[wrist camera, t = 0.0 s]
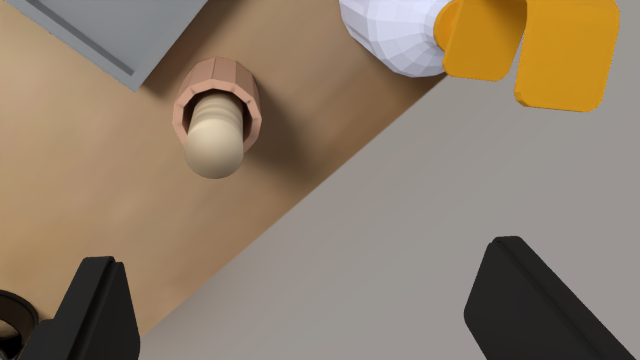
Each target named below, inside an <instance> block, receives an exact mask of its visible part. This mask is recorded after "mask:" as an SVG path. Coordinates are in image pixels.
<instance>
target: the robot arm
mask: <svg viewBox="0 0 640 360" xmlns="http://www.w3.org/2000/svg"><path fill="white" fill-rule="evenodd" d="M464 319H465V323H466V325H467V326H468V328H469V330H470V331H471V333H472V335H473V337H474V338H475V340H476V342H477V343H478V345H479V347H480V349H481V350H482V352H483V354H484V355H485V357H486V359H487V360H636V359H635V358H634V357H633V356H632V355H631V354H630V353H629V352H628V351H627V349H626V348H625V347H624V346H623V345H622V344H621V343H620V342H619V341H618V340H617V339H616V338H615V337H614V336H613V335H612V334H611V332H610V331H609V330H608V329H607V328H606V327H605V326H604V325H603V324H602V323H601V322H600V321H599V320H598V319H597V318H596V317H595V316H594V314H593V313H592V312H591V311H590V310H589V309H588V308H587V307H586V306H585V305H584V304H583V303H582V302H581V301H580V300H579V299H578V298H577V297H576V295H575V294H574V293H573V292H572V291H571V290H570V289H569V288H568V287H567V286H566V285H565V284H564V283H563V282H562V281H561V280H560V278H559V277H558V276H557V275H556V274H555V273H554V272H553V271H552V270H551V269H550V268H549V267H548V266H547V265H546V264H545V263H544V262H543V260H542V259H541V258H540V257H539V256H538V255H537V254H536V253H535V252H534V251H533V250H532V249H531V248H530V247H529V246H528V245H527V244H526V243H525V242H524V241H523V239H521V238H520V237H518V236H504V237H496V238H495V239H494V240H493V241H492V243H489V245H488V246H487V249H486V251H485V254H484V257H483V260H482V263H481V265H480V268H479V271H478V274H477V276H476V279H475V282H474V284H473V287H472V290H471V293H470V296H469V298H468V301H467V304H466V306H465V309H464ZM139 353H140V336H139V332H138V327H137V323H136V318H135V313H134V309H133V304H132V300H131V295H130V291H129V286H128V282H127V277H126V273H125V268H124V264H123V263H122V262H115V259H114V257H113V256H104V257H86V258H84V259H83V260H82V262H81V264H80V266H79V268H78V270H77V272H76V274H75V276H74V278H73V280H72V282H71V284H70V286H69V288H68V290H67V292H66V294H65V296H64V298H63V300H62V302H61V305H60V307H59V309H58V311H57V313H56V315H55V317H54V319H47V320H42V321H41V322H40V323H39V324H38V325H37V326H36V328H35V329H34V331H33V333H32V335H31V337H30V339H29V340H28V342H27V344H26V346H25V348H24V350H23V352H22V354H21V356H20V358H19V359H18V360H138V357H139Z"/></svg>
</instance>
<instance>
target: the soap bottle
mask: <svg viewBox="0 0 640 360" xmlns="http://www.w3.org/2000/svg"><path fill="white" fill-rule="evenodd" d="M339 3H340V9H341V15H342V20H343V22H344V24H345V26H346V28H347V29H348V31H349V33H350V35H351V36H352V37H354V38H355V39H356V40H357V41H358V42H359V43H361V44H362V45H363V46H364V47H365V48H366V49H368V50H369V51H370V52H371V53H372V54H373V55H375V56H376V57H377V58H378V59H379V60H380V61H382V62H383V63H384V64H385V65H386V66H388V67H389V68H390V69H391V70H392V71H393V72H396V73H399V74H402V75H406V76H409V77H425V76H434V75H438V74H440V73H442V72H446V73H447V74H448V75H450V76H451V77H461V78H470V79H479V80H488V81H498V80H500V79H502V78H503V77H504V76H505V75H506V74H507V73H508V72H509V70H510V67H511V64H512V62H513V59H514V56H515V54H516V51H517V48H518V46H519V43H520V41H521V38H522V35H523V33H524V30H525V33H524V39H523V44H522V50H521V55H520V61H519V67H518V72H517V78H516V84H515V89H514V94H515V97H516V101H518V102H519V103H520V104H522V105H523V106H526V107H535V108H536V107H537V108H546V109H556V110H566V111H576V112H589V111H591V110H593V109H595V108H597V107H598V105H599V104H600V102H601V101H602V98H603V94H604V90H605V86H606V82H607V78H608V73H609V69H610V65H611V61H612V56H613V52H614V48H615V44H616V40H617V35H618V31H619V9H618V7H617V5H616V3H615V1H614V0H339ZM525 27H526V28H525Z"/></svg>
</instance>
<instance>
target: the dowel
mask: <svg viewBox="0 0 640 360" xmlns="http://www.w3.org/2000/svg"><path fill="white" fill-rule="evenodd" d="M184 158H185V161H186V163H187V165H188V166H189V167H190V169H192V170H193V171H194V172H195V173H196V174H198V175H200V176H202V177H206V178H210V179H219V178H224V177H227V176H229V175H231V174H232V173H234V172H235V171H236V170H237V169H238V168H239V166H240V165H241V162H242V159H243V110H242V99H240V98H239V97H238V96H237V95H235V94H234V93H233V92H231V91H226V90H221V89H216V88H211V89H208V90H205V91H202V92H199V94H198V98H197V101H196V105H195V109H194V112H193V116H192V120H191V124H190V127H189V131H188V135H187V138H186V142H185V146H184Z"/></svg>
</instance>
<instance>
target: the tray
mask: <svg viewBox="0 0 640 360" xmlns="http://www.w3.org/2000/svg"><path fill="white" fill-rule="evenodd" d="M4 1H6V2H7V3H9V4H10V5H12V6H13V7H14V8H16V9H17V10H19V11H20V12H21V13H23V14H24V15H26V16H27V17H29V18H30V19H31V20H33V21H34V22H36V23H37V24H38V25H40V26H41V27H43V28H44V29H45V30H47V31H48V32H50V33H51V34H53V35H54V36H55V37H57V38H58V39H60V40H61V41H62V42H64V43H65V44H67V45H68V46H70V47H71V48H72V49H74V50H75V51H77V52H78V53H79V54H81V55H82V56H84V57H85V58H87V59H88V60H89V61H91V62H92V63H94V64H95V65H96V66H98V67H99V68H101V69H102V70H104V71H105V72H106V73H108V74H109V75H111V76H112V77H113V78H115V79H116V80H118V81H119V82H121V83H122V84H123V85H125V86H126V87H128V88H129V89H130V90H132V91H133V92H136V90H137V89H138V88H139V87H140V85H141V84H142V83H143V82H144V80H145V79H146V78H147V77H148V75H149V74H150V73H151V71H152V70H153V69H154V68H155V66H156V65H157V64H158V63H159V61H160V60H161V59H162V58H163V56H164V55H165V54H166V52H167V51H168V50H169V49H170V47H171V46H172V45H173V44H174V42H175V41H176V40H177V39H178V37H179V36H180V35H181V33H182V32H183V31H184V30H185V28H186V27H187V26H188V25H189V23H190V22H191V21H192V20H193V18H194V17H195V16H196V14H197V13H198V12H199V11H200V9H201V8H202V7H203V6H204V4H205V3H206V2H207V1H208V0H4Z"/></svg>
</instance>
